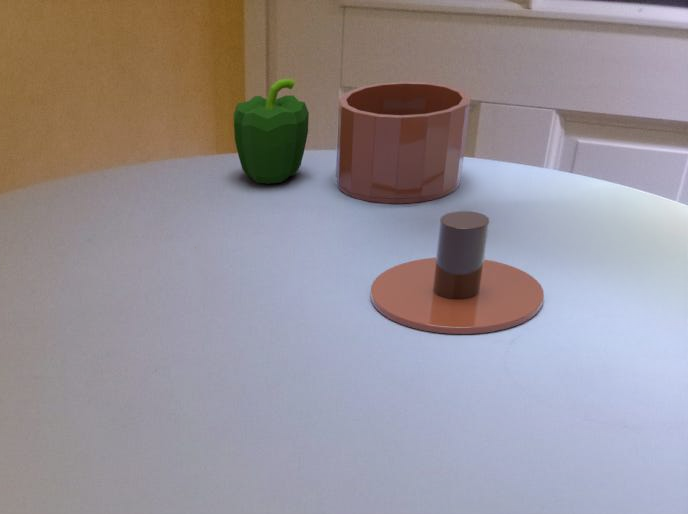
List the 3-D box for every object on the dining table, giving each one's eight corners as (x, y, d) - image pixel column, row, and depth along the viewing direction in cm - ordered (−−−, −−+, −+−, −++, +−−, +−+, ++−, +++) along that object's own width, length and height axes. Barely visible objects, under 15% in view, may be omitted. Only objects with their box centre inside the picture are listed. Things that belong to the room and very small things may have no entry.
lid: (517, 265, 91) (531, 184, 86) (562, 335, 81) (580, 248, 76) (359, 274, 92) (364, 194, 87) (382, 346, 81) (389, 259, 76)
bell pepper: (231, 190, 110) (227, 92, 104) (238, 166, 116) (236, 72, 110) (305, 189, 109) (307, 90, 103) (309, 165, 115) (310, 70, 109)
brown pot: (446, 159, 114) (455, 78, 109) (471, 199, 104) (482, 112, 99) (330, 166, 115) (333, 85, 109) (344, 207, 105) (347, 120, 99)
